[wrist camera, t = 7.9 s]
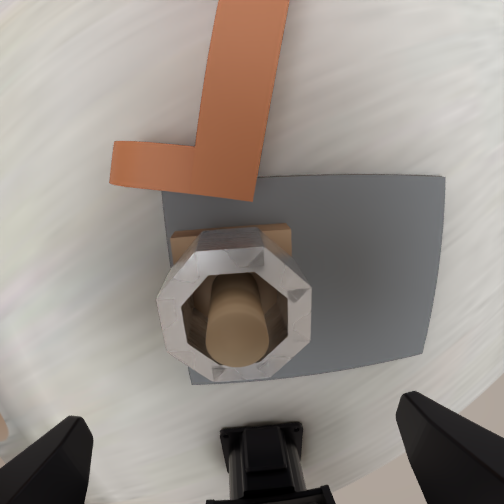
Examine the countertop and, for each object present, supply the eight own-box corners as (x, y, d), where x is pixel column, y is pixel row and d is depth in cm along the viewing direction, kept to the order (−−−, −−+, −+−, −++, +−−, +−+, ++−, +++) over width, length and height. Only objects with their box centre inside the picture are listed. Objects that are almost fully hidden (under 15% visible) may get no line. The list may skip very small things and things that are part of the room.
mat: (418, 349, 21) (422, 353, 21) (192, 379, 21) (191, 384, 20) (440, 176, 18) (445, 177, 17) (163, 185, 17) (161, 186, 16)
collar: (295, 335, 18) (308, 373, 14) (182, 344, 17) (174, 383, 14) (294, 224, 16) (311, 243, 12) (165, 233, 15) (148, 255, 12)
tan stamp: (288, 321, 19) (311, 391, 13) (188, 328, 19) (174, 401, 13) (286, 223, 17) (317, 261, 11) (174, 231, 17) (145, 274, 11)
